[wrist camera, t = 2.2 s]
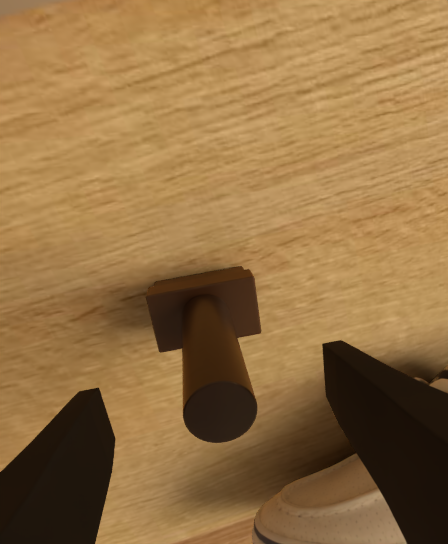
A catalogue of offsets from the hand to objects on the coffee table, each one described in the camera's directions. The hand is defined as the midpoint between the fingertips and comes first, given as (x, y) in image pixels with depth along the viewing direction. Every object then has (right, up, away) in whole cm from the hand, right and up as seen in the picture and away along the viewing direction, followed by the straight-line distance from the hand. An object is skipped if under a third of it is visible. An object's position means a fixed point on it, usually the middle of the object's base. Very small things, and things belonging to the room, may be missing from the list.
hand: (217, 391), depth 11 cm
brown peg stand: (-1, +2, +8) cm, 8 cm away
